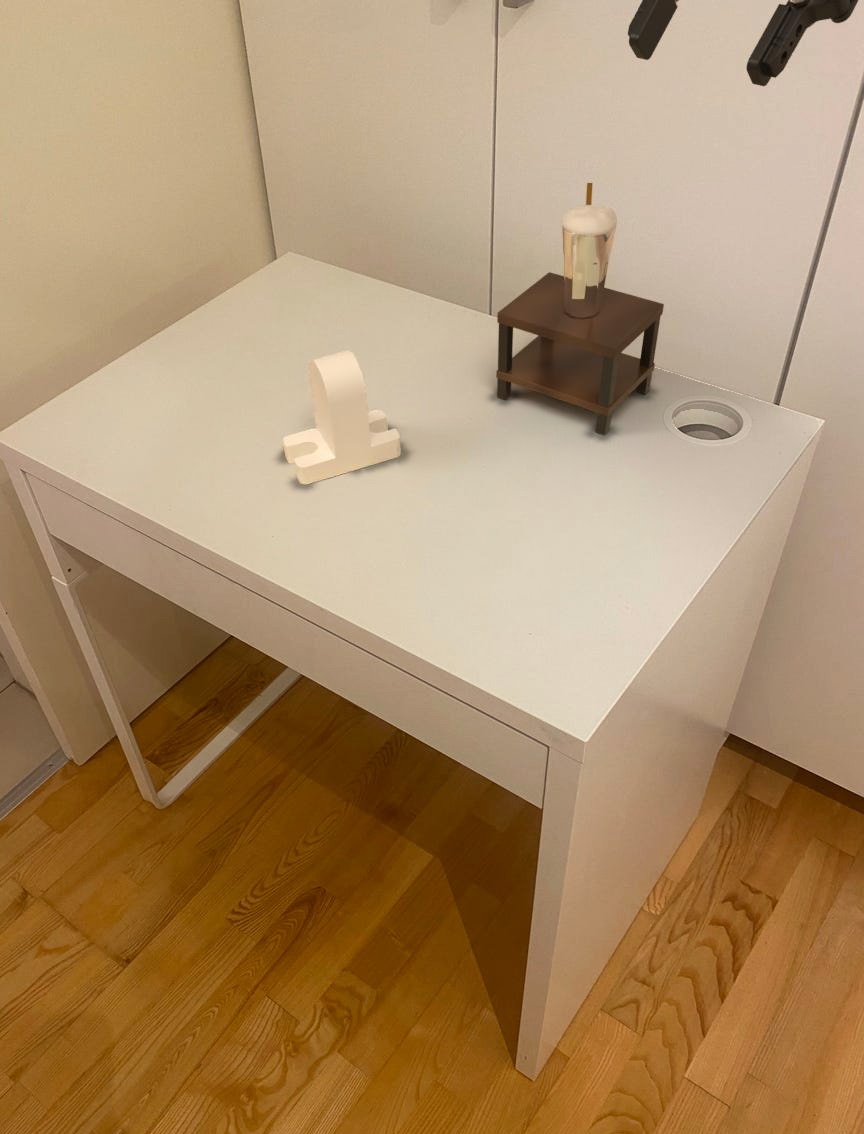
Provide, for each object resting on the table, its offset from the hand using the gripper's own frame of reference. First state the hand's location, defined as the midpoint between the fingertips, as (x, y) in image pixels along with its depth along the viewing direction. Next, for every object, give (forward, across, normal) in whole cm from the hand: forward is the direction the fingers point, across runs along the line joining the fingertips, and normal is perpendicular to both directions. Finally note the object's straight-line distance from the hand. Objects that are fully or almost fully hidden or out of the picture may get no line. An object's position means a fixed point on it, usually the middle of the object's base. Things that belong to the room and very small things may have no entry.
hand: (694, 64), depth 61 cm
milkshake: (+11, -14, +24) cm, 29 cm away
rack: (+17, -14, +30) cm, 37 cm away
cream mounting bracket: (+33, -23, +14) cm, 43 cm away
